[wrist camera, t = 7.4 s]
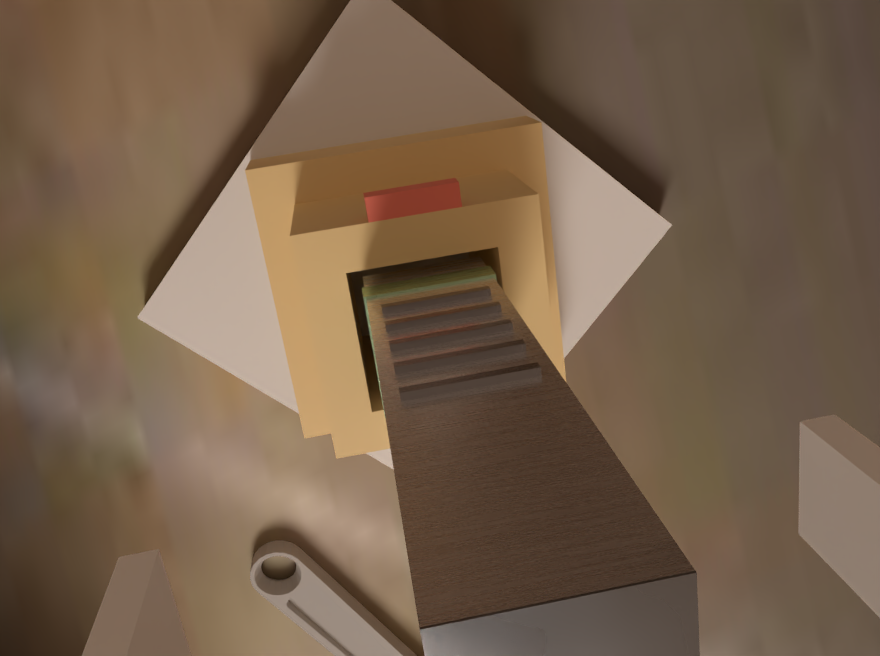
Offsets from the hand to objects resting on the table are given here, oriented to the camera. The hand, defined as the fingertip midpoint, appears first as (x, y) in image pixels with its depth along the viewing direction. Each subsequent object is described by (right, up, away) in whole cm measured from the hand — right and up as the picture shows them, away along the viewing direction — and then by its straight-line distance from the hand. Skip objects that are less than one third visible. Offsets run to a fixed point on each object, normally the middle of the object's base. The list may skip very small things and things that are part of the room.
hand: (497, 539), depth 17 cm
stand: (-3, +7, +19) cm, 21 cm away
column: (-2, +5, +12) cm, 13 cm away
